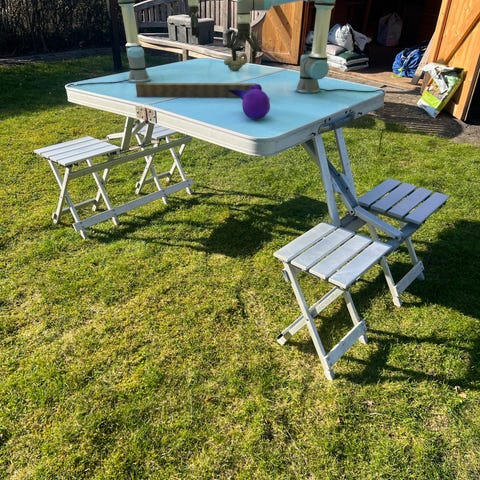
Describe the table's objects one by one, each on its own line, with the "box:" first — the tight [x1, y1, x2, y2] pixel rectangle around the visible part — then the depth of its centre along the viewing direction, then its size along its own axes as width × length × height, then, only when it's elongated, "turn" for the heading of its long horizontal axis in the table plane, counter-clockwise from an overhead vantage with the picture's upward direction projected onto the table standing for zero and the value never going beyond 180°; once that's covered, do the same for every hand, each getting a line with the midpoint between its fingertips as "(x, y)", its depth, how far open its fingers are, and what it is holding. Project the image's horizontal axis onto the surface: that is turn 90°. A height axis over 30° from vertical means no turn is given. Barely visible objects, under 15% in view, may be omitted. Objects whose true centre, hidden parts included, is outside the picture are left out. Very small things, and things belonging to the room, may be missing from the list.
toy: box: [228, 83, 271, 121], centre depth 243 cm, size 16×18×27 cm
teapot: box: [223, 52, 248, 72], centre depth 366 cm, size 21×12×15 cm, turn 120°
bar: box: [135, 82, 258, 99], centre depth 290 cm, size 78×6×8 cm, turn 83°
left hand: (195, 36), depth 348 cm, fingers open, 13 cm apart
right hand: (244, 61), depth 269 cm, fingers open, 13 cm apart
